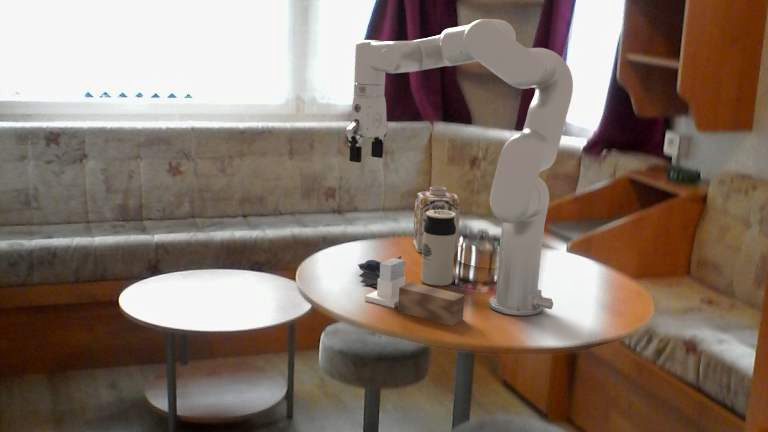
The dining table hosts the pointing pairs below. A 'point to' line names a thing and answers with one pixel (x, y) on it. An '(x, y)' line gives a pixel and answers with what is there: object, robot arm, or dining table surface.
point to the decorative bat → (371, 272)
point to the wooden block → (431, 303)
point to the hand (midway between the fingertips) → (366, 159)
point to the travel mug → (438, 248)
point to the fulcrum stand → (388, 283)
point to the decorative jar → (433, 201)
